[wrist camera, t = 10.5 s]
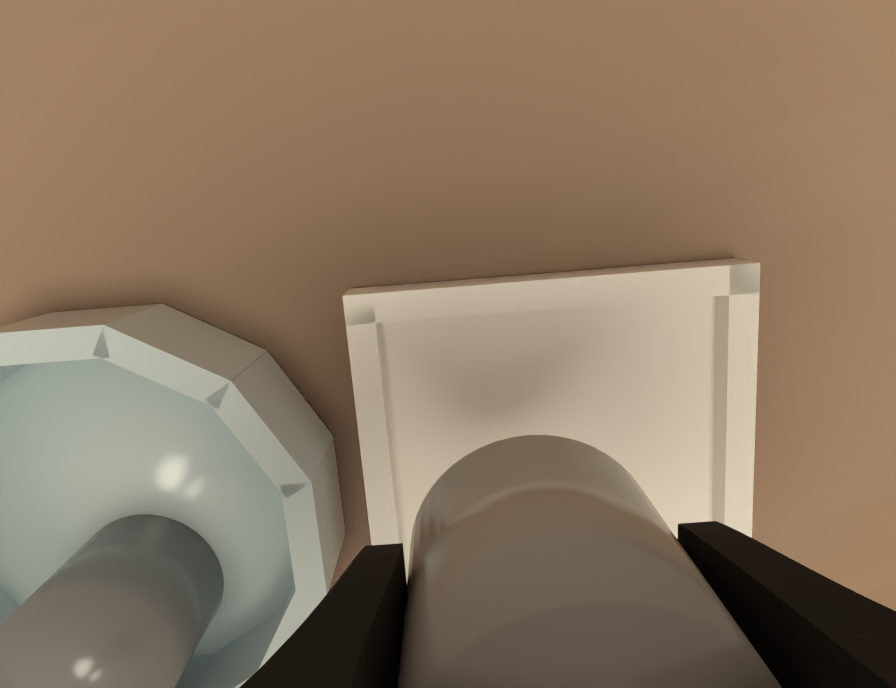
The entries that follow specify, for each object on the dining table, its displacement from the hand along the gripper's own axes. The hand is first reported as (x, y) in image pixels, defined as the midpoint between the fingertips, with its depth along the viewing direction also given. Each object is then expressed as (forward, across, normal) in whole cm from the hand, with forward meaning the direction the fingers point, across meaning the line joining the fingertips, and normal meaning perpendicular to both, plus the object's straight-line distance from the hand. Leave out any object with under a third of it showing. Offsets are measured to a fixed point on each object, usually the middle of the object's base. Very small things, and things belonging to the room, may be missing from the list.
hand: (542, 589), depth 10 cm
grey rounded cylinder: (+1, 0, 0) cm, 1 cm away
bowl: (+9, +11, +2) cm, 14 cm away
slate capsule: (+8, +11, +4) cm, 14 cm away
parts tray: (+9, -2, +4) cm, 10 cm away
